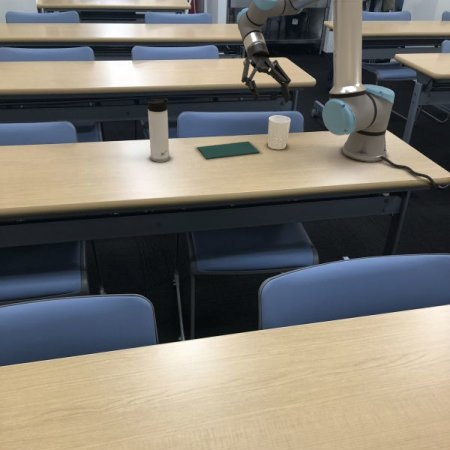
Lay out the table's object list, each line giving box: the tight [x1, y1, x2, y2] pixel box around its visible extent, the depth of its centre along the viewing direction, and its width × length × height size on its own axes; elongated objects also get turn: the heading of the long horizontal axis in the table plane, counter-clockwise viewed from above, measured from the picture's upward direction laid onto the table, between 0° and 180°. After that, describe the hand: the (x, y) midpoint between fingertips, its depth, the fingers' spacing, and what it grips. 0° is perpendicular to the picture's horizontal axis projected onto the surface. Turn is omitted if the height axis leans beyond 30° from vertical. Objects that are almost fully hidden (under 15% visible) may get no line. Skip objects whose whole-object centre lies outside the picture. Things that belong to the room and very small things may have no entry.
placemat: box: [197, 141, 260, 160], centre depth 174 cm, size 10×20×1 cm, turn 111°
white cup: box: [267, 114, 292, 150], centre depth 176 cm, size 8×8×10 cm
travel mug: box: [147, 97, 170, 163], centre depth 161 cm, size 6×7×20 cm
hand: (272, 99), depth 174 cm, fingers open, 13 cm apart
